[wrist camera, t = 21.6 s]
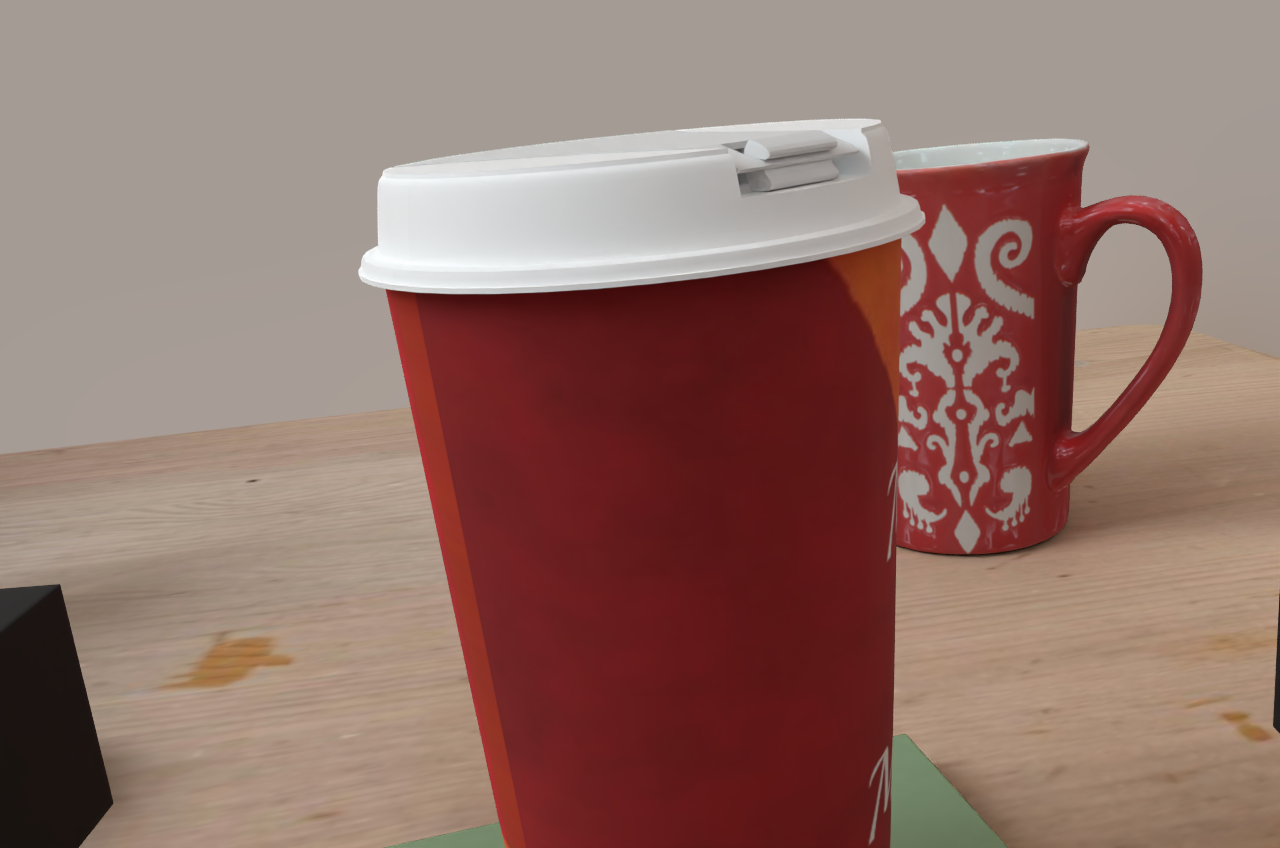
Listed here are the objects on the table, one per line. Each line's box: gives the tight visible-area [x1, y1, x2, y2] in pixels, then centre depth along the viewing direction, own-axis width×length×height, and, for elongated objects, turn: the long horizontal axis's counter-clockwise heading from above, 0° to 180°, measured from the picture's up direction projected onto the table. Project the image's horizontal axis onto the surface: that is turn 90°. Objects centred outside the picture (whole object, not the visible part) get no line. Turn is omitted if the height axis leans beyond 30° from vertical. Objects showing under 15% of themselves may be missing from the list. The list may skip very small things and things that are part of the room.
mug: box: [893, 139, 1202, 554], centre depth 42 cm, size 13×9×14 cm
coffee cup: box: [358, 119, 925, 848], centre depth 20 cm, size 8×8×15 cm
